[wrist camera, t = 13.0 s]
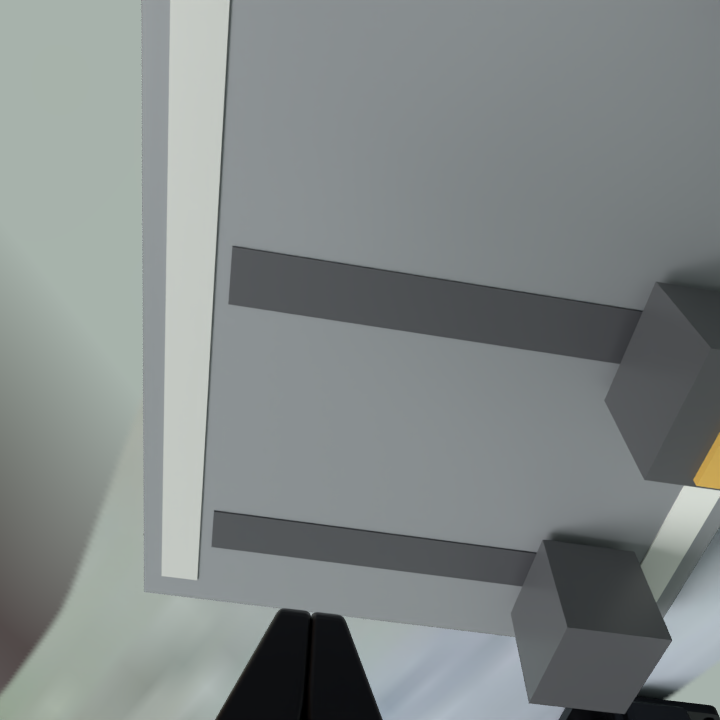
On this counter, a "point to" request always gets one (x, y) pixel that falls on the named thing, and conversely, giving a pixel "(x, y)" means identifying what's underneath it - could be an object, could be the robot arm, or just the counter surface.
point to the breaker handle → (672, 388)
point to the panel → (424, 313)
